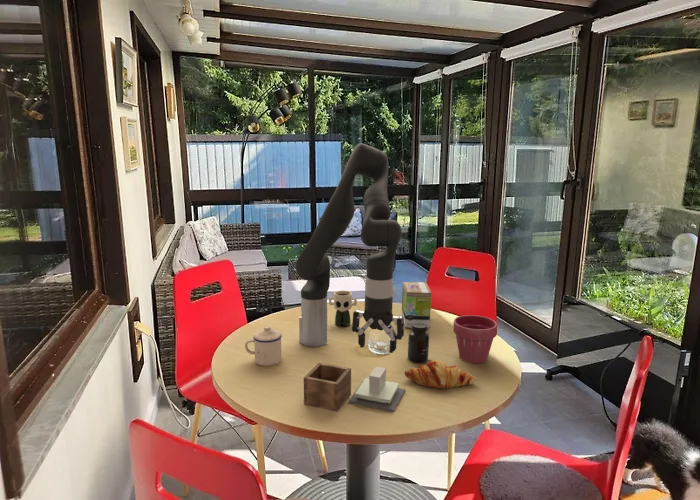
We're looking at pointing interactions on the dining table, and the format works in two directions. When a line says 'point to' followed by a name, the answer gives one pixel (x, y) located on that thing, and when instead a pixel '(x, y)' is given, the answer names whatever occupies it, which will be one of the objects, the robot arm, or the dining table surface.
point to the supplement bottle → (418, 343)
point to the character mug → (342, 306)
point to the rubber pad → (379, 405)
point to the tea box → (416, 303)
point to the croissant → (439, 375)
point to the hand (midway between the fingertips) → (377, 349)
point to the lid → (377, 387)
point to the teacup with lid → (266, 346)
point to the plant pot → (474, 337)
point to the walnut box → (327, 386)
